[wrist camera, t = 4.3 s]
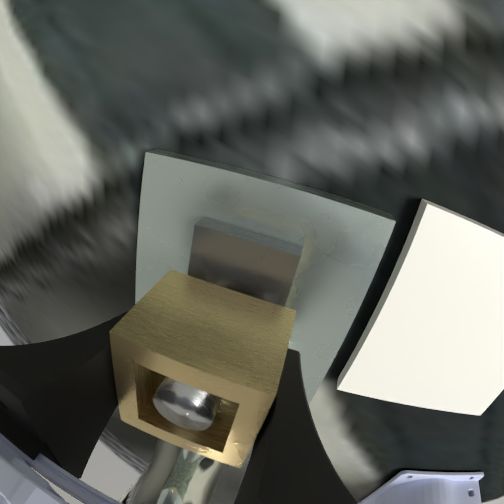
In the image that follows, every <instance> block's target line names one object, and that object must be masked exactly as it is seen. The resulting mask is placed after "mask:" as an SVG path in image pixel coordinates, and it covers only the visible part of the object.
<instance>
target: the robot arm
mask: <svg viewBox="0 0 504 504" xmlns="http://www.w3.org/2000/svg"><path fill="white" fill-rule="evenodd" d="M129 311H130V310H129ZM129 311H127V312H125V313H123V314H121V315H119V316H117V317H115V318H113V319H111V320H109V321H107V322H104V323H102V324H100V325H97V326H95V327H93V328H90V329H88V330H85V331H82V332H79V333H76V334H73V335H70V336H67V337H63V338H59V339H55V340H50V341H46V342H41V343H34V344H26V345H16V346H0V504H69V503H67V502H66V501H65V500H64V499H63V498H62V497H61V496H60V495H59V494H57V493H56V492H55V491H54V490H53V489H52V487H51V486H50V485H49V483H48V482H47V481H46V480H45V479H43V478H42V477H41V476H40V475H39V474H41V475H42V476H44V477H45V478H46V479H48V480H49V481H50V482H52V483H53V484H55V485H56V486H58V487H59V488H61V489H62V490H64V491H65V492H67V493H68V494H70V495H71V496H73V497H74V498H76V499H78V500H79V501H81V502H82V503H84V504H122V503H120V502H118V501H116V500H114V499H112V498H110V497H108V496H107V495H105V494H103V493H101V492H100V491H98V490H96V489H94V488H93V487H91V486H89V485H87V484H86V483H84V482H83V481H81V480H79V478H81V476H82V474H83V471H84V469H85V467H86V464H87V462H88V460H89V458H90V455H91V453H92V451H93V449H94V447H95V445H96V443H97V441H98V439H99V437H100V435H101V433H102V432H103V430H104V428H105V426H106V424H107V422H108V421H109V419H110V417H111V415H112V414H113V412H114V410H115V408H116V407H117V405H118V398H117V392H116V385H115V378H114V370H113V362H112V353H111V344H110V333H109V331H110V330H111V329H112V328H113V327H114V326H115V325H116V324H117V323H118V322H119V321H120V320H121V319H122V318H123V317H124V316H125V315H126V314H127V313H128V312H129ZM31 467H32V468H33V469H34V470H35V471H37V472H38V473H39V474H37V473H36V472H35V471H34V470H33V469H32V468H31ZM483 476H484V473H483V472H427V471H412V470H404V471H401V472H399V473H398V474H397V475H396V476H394V477H393V478H392V479H391V480H389V481H388V482H387V483H385V484H384V485H383V486H381V487H380V488H379V489H377V490H376V491H375V492H373V493H372V494H371V495H369V496H368V497H366V498H365V499H363V500H362V501H361V502H359V503H358V504H481V497H480V490H479V483H478V481H479V480H480V479H481V478H482V477H483ZM234 504H357V502H356V501H355V499H354V498H353V497H352V495H351V494H350V493H349V491H348V490H347V488H346V487H345V485H344V484H343V482H342V481H341V479H340V477H339V476H338V474H337V472H336V471H335V469H334V467H333V465H332V463H331V461H330V459H329V457H328V456H327V454H326V452H325V450H324V447H323V445H322V443H321V440H320V438H319V436H318V433H317V430H316V428H315V425H314V422H313V419H312V416H311V412H310V409H309V405H308V401H307V397H306V392H305V388H304V383H303V377H302V370H301V359H300V353H299V351H296V350H293V349H289V348H288V349H287V353H286V358H285V362H284V366H283V370H282V374H281V378H280V381H279V385H278V389H277V393H276V396H275V399H274V401H273V403H272V405H271V407H270V409H269V411H268V414H267V416H266V418H265V420H264V422H263V424H262V426H261V428H260V430H259V432H258V434H257V436H256V439H255V441H254V446H253V450H252V454H251V458H250V461H249V464H248V467H247V470H246V473H245V475H244V478H243V481H242V484H241V487H240V489H239V492H238V495H237V498H236V500H235V503H234Z"/></svg>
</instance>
